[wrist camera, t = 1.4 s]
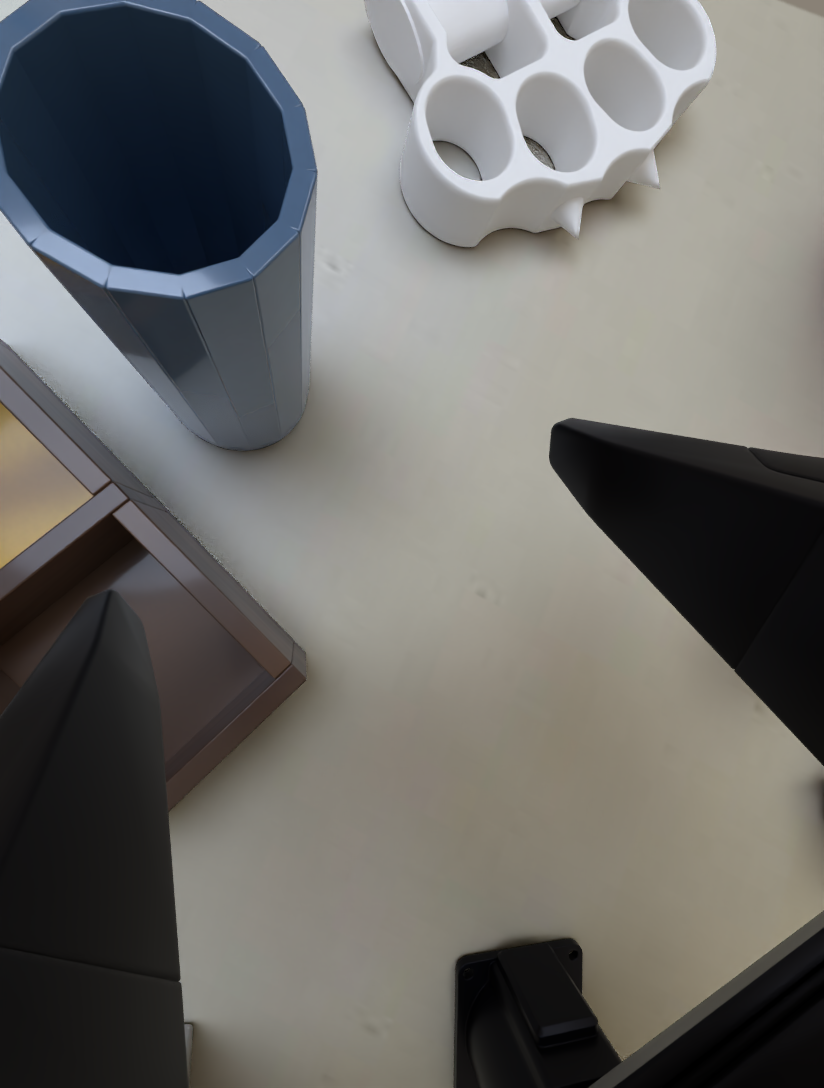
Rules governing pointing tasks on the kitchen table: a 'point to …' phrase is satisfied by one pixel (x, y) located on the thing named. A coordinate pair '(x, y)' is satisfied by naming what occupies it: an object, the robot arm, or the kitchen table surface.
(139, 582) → the caddy
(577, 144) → the knuckle duster
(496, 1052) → the robot arm
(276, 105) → the tumbler
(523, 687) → the kitchen table surface
